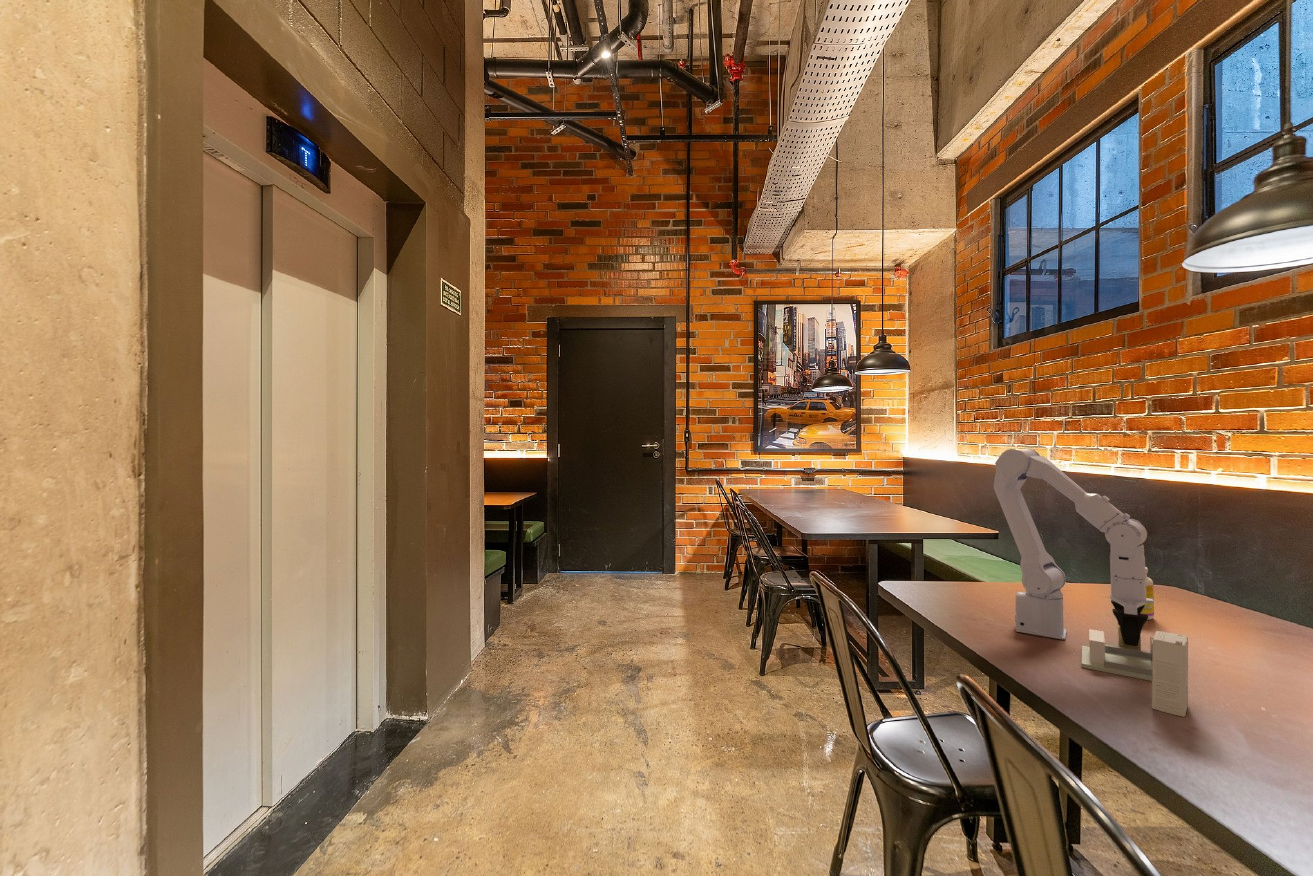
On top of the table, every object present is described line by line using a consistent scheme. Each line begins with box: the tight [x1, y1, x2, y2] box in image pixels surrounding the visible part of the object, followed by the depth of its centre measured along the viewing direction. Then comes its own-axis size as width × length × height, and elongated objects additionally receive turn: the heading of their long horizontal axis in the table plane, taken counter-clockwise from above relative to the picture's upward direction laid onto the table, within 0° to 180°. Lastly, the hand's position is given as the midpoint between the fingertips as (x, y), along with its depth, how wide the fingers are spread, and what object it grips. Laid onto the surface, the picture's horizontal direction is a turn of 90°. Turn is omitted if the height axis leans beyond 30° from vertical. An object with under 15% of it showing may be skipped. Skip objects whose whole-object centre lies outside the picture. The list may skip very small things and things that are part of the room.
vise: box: [1081, 628, 1152, 682], centre depth 110 cm, size 14×12×5 cm
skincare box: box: [1151, 630, 1189, 718], centre depth 93 cm, size 6×4×12 cm
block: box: [1117, 622, 1142, 651], centre depth 117 cm, size 4×4×6 cm
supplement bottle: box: [1140, 566, 1155, 621], centre depth 140 cm, size 7×7×13 cm
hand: (1129, 639), depth 117 cm, fingers open, 7 cm apart
